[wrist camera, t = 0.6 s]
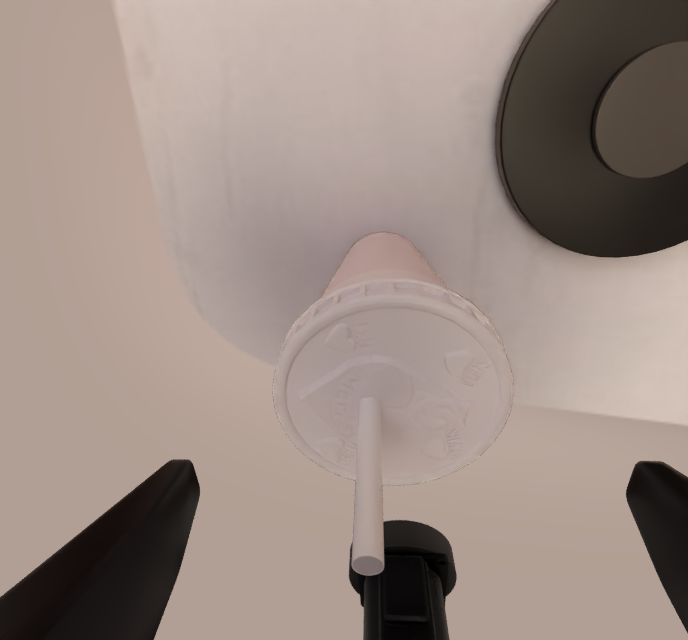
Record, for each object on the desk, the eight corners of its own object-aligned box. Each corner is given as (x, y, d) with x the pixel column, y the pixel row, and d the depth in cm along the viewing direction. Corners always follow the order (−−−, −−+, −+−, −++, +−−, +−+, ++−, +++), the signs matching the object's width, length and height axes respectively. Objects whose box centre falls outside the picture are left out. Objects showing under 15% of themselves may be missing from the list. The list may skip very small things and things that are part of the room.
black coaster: (743, 247, 18) (764, 255, 17) (482, 256, 19) (488, 265, 18) (879, -97, 13) (921, -113, 12) (513, -61, 14) (523, -73, 13)
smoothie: (318, 194, 18) (198, 400, 6) (466, 208, 18) (679, 451, 5) (311, 324, 21) (224, 644, 9) (438, 337, 21) (534, 679, 8)
